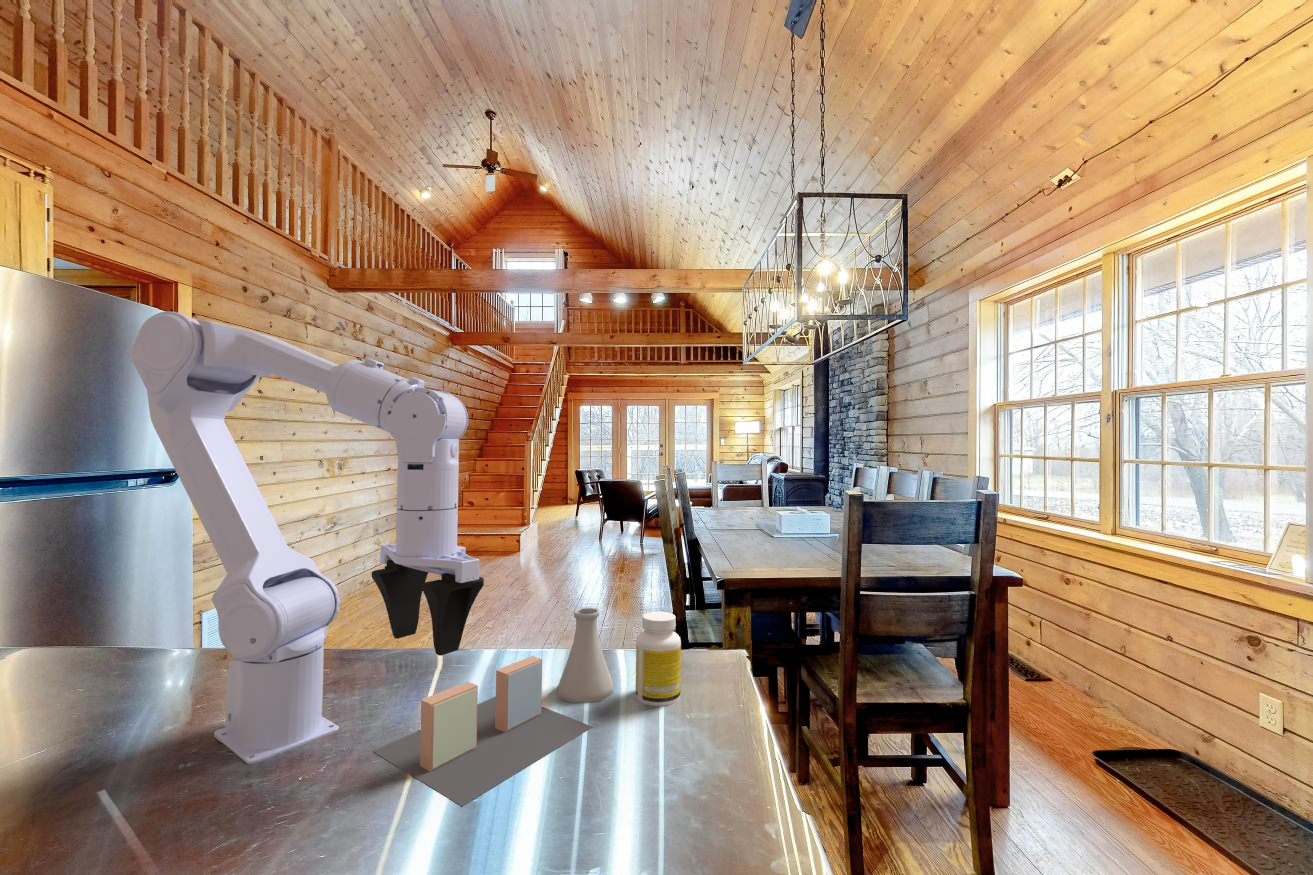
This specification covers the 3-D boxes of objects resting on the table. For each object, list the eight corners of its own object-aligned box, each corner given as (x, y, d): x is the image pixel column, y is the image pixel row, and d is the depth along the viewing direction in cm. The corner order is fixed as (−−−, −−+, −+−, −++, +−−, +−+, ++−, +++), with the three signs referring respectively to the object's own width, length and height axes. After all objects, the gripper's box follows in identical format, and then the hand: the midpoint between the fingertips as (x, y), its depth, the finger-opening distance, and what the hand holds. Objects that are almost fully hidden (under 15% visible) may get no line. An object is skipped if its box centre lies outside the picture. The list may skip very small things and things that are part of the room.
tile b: (495, 727, 57) (496, 670, 58) (531, 709, 61) (532, 655, 62) (505, 732, 56) (506, 673, 57) (542, 714, 60) (542, 659, 61)
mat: (372, 755, 53) (372, 750, 53) (505, 695, 66) (505, 692, 66) (462, 810, 45) (462, 805, 45) (592, 730, 58) (593, 726, 58)
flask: (605, 710, 63) (606, 621, 63) (545, 703, 64) (547, 617, 64) (621, 683, 70) (623, 604, 70) (567, 678, 71) (569, 600, 71)
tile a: (419, 765, 50) (421, 699, 51) (466, 742, 54) (467, 681, 55) (430, 771, 49) (432, 704, 50) (477, 747, 54) (478, 685, 54)
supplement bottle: (689, 701, 65) (690, 617, 65) (651, 713, 62) (652, 625, 62) (663, 685, 69) (664, 607, 70) (626, 695, 66) (627, 613, 67)
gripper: (506, 509, 54) (504, 647, 54) (424, 500, 63) (422, 620, 63) (442, 516, 49) (439, 670, 48) (361, 505, 57) (358, 636, 57)
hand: (425, 643), depth 55 cm, fingers open, 7 cm apart
